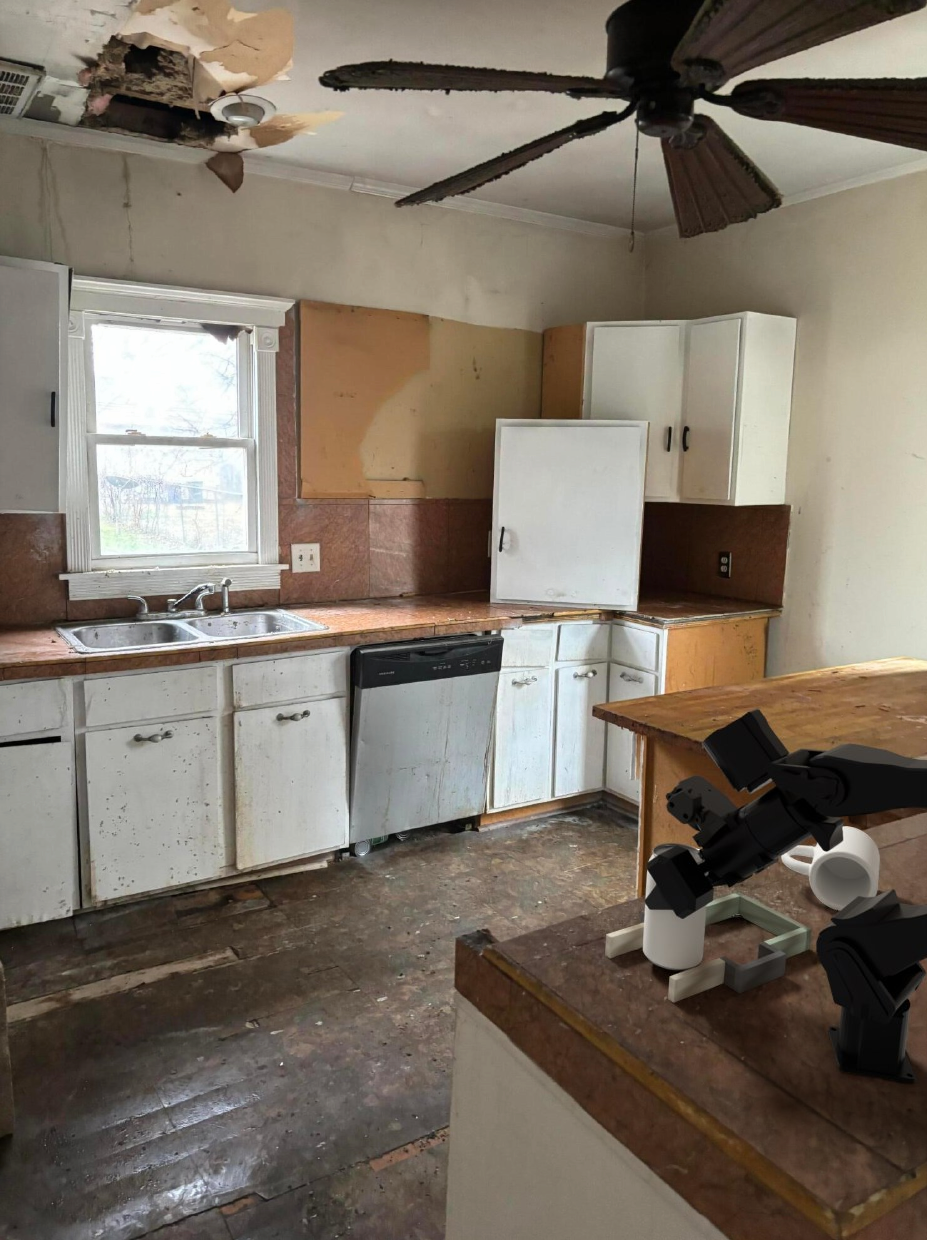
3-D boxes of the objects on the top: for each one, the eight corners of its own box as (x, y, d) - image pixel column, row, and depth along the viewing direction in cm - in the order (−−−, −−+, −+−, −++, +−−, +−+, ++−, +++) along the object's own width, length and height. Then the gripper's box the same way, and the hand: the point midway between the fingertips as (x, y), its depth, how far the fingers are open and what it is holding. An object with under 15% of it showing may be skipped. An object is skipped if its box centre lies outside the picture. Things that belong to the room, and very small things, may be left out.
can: (698, 944, 100) (704, 843, 99) (706, 974, 94) (714, 867, 92) (640, 939, 101) (646, 839, 99) (645, 969, 95) (651, 863, 93)
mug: (876, 888, 119) (882, 832, 118) (874, 919, 110) (880, 859, 109) (783, 868, 124) (788, 814, 123) (773, 897, 115) (778, 839, 114)
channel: (689, 1014, 89) (691, 991, 88) (592, 946, 101) (593, 926, 101) (826, 958, 100) (828, 937, 100) (723, 903, 113) (725, 885, 113)
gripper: (760, 743, 98) (668, 812, 107) (669, 779, 85) (573, 853, 94) (825, 832, 94) (723, 895, 103) (739, 884, 80) (631, 951, 90)
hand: (664, 895), depth 97 cm, fingers closed on can, 6 cm apart
